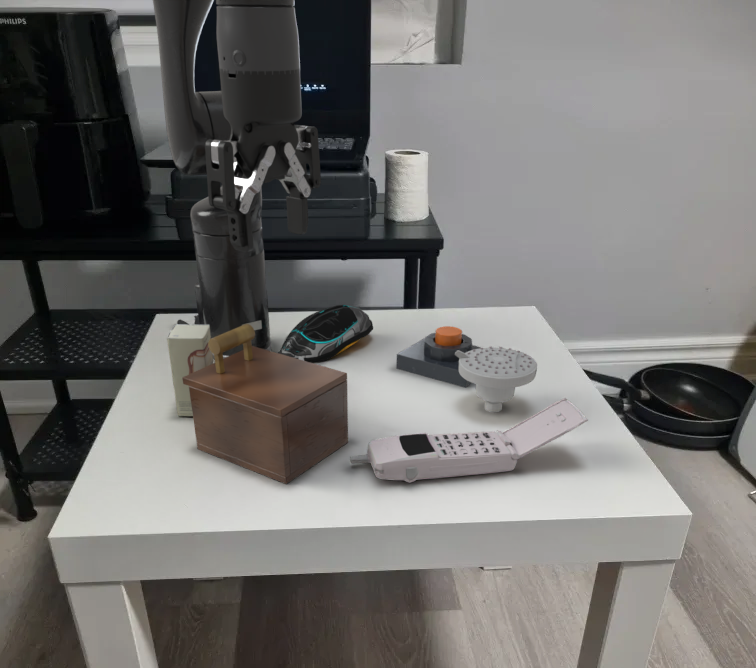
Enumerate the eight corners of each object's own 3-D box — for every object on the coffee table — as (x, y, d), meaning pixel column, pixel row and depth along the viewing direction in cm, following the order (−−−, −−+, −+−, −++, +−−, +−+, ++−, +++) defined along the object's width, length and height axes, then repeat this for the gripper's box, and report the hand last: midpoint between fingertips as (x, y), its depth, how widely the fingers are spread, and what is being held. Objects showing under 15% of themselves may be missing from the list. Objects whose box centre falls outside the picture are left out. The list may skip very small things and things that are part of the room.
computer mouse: (261, 353, 108) (257, 314, 105) (352, 327, 117) (351, 291, 114) (295, 372, 103) (293, 332, 99) (388, 343, 112) (388, 306, 109)
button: (430, 344, 102) (430, 331, 101) (443, 336, 105) (444, 324, 104) (453, 349, 100) (453, 337, 99) (465, 341, 103) (466, 329, 102)
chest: (197, 449, 85) (188, 385, 80) (262, 413, 92) (257, 353, 88) (286, 484, 78) (281, 417, 74) (348, 442, 86) (347, 380, 82)
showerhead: (459, 336, 94) (539, 343, 93) (455, 389, 98) (532, 396, 97) (450, 365, 87) (537, 373, 85) (446, 421, 91) (529, 429, 89)
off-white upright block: (213, 417, 91) (202, 338, 86) (176, 417, 91) (164, 338, 85) (219, 399, 95) (210, 322, 90) (185, 399, 95) (174, 323, 90)
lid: (183, 384, 81) (176, 341, 78) (252, 352, 88) (248, 312, 86) (281, 417, 74) (278, 372, 72) (347, 379, 82) (346, 337, 79)
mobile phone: (592, 420, 78) (357, 438, 74) (583, 468, 82) (358, 489, 77) (569, 396, 83) (348, 412, 79) (561, 443, 87) (348, 461, 82)
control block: (396, 368, 104) (396, 341, 102) (429, 348, 110) (430, 322, 108) (465, 388, 99) (467, 359, 97) (496, 366, 105) (499, 338, 103)
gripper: (279, 59, 77) (288, 223, 86) (174, 66, 67) (196, 250, 76) (337, 62, 73) (340, 233, 82) (235, 70, 63) (250, 263, 72)
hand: (271, 241), depth 79 cm, fingers open, 8 cm apart
